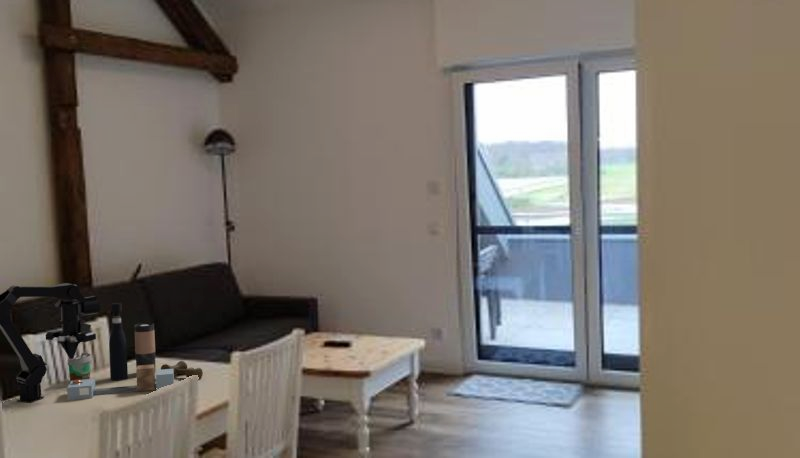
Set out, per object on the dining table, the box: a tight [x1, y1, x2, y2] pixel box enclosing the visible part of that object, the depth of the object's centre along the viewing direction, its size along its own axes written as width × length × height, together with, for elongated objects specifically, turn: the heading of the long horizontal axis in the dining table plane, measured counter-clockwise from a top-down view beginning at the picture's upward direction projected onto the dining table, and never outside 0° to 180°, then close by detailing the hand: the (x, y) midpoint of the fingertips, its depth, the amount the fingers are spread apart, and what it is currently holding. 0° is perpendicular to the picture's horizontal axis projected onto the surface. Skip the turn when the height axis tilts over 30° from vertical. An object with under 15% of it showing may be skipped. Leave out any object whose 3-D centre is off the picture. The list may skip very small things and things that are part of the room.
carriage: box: [135, 364, 156, 392], centre depth 268 cm, size 6×6×8 cm
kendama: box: [160, 360, 204, 381], centre depth 285 cm, size 6×10×20 cm
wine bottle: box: [108, 302, 129, 381], centre depth 284 cm, size 6×6×30 cm
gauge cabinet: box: [66, 378, 96, 401], centre depth 262 cm, size 8×10×4 cm
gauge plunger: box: [73, 380, 81, 385], centre depth 261 cm, size 3×3×5 cm
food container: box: [67, 352, 93, 382], centre depth 282 cm, size 12×6×10 cm, turn 179°
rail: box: [93, 383, 157, 396], centre depth 266 cm, size 22×3×2 cm, turn 106°
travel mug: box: [134, 322, 156, 371], centre depth 292 cm, size 8×8×20 cm
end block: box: [155, 369, 175, 390], centre depth 270 cm, size 6×8×6 cm
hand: (71, 358), depth 268 cm, fingers closed
